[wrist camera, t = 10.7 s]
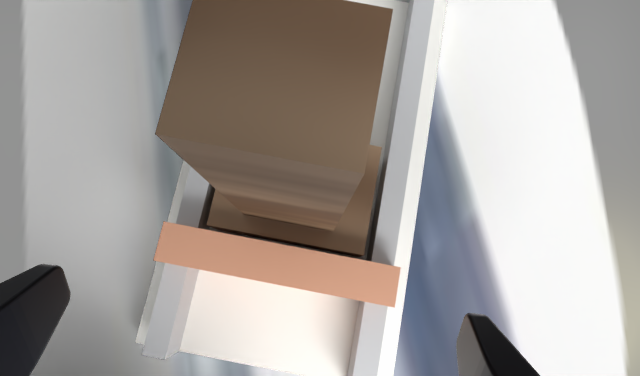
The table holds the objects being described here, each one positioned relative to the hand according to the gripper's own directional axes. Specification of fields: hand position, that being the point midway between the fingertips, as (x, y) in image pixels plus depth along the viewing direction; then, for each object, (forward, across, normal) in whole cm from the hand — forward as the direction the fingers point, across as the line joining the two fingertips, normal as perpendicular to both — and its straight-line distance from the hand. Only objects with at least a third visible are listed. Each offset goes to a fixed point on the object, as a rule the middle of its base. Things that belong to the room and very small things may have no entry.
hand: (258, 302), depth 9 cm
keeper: (+11, +1, +4) cm, 12 cm away
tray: (+14, 0, +3) cm, 14 cm away
